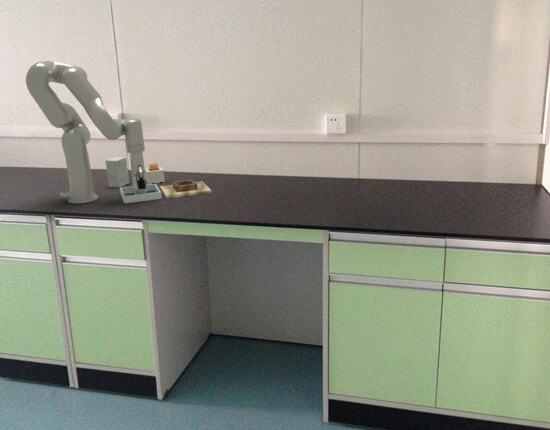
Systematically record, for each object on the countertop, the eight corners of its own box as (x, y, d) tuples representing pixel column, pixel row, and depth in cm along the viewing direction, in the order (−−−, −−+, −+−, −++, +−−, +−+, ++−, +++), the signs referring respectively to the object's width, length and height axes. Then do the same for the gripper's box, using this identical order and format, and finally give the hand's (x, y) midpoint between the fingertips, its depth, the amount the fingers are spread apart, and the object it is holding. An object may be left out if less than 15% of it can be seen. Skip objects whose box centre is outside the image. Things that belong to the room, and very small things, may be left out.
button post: (148, 184, 264) (146, 172, 262) (145, 180, 271) (144, 168, 269) (164, 182, 266) (163, 170, 264) (162, 178, 273) (160, 166, 271)
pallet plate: (166, 198, 239) (166, 190, 238) (160, 188, 255) (159, 181, 254) (211, 193, 245) (211, 185, 244) (202, 183, 261) (201, 176, 260)
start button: (150, 171, 264) (149, 165, 263) (149, 170, 268) (148, 164, 267) (158, 170, 266) (158, 164, 265) (157, 169, 269) (157, 163, 268)
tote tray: (124, 203, 234) (123, 196, 233) (120, 194, 248) (119, 187, 247) (161, 198, 239) (161, 192, 238) (156, 189, 253) (155, 183, 252)
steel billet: (135, 198, 241) (133, 176, 238) (134, 195, 245) (131, 174, 242) (147, 197, 242) (144, 175, 239) (145, 194, 247) (143, 172, 244)
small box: (118, 182, 268) (115, 156, 264) (129, 183, 266) (126, 157, 262) (108, 187, 261) (105, 160, 257) (119, 187, 259) (116, 160, 255)
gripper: (124, 145, 244) (130, 183, 249) (128, 152, 228) (134, 192, 233) (141, 143, 246) (146, 180, 251) (147, 150, 230) (152, 189, 236)
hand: (140, 186), depth 242 cm, fingers open, 9 cm apart
